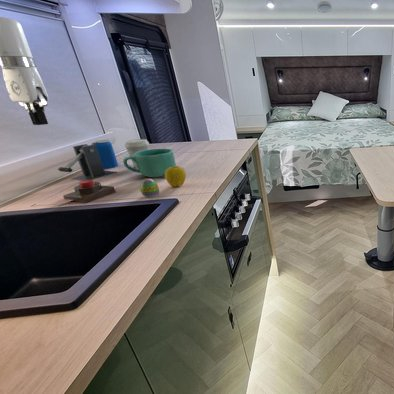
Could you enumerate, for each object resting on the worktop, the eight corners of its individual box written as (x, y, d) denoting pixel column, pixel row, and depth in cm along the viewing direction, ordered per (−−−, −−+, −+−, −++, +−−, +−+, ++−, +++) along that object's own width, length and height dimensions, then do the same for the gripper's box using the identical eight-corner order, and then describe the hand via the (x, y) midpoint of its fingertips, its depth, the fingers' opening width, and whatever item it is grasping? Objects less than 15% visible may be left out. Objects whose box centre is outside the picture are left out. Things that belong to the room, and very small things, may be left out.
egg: (143, 200, 91) (137, 182, 89) (142, 195, 95) (137, 178, 93) (161, 196, 94) (156, 179, 92) (159, 192, 98) (155, 175, 95)
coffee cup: (130, 172, 120) (121, 143, 115) (133, 167, 127) (125, 140, 122) (154, 169, 124) (147, 141, 119) (156, 164, 131) (148, 138, 126)
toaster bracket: (89, 183, 108) (77, 149, 103) (71, 181, 110) (58, 148, 105) (118, 174, 117) (108, 143, 113) (101, 173, 120) (90, 142, 115)
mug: (179, 169, 123) (173, 147, 120) (176, 177, 113) (170, 153, 109) (132, 174, 117) (125, 151, 113) (125, 183, 106) (117, 158, 103)
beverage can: (103, 167, 127) (94, 140, 122) (121, 166, 129) (112, 139, 124) (97, 171, 121) (87, 143, 117) (116, 170, 123) (106, 142, 119)
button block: (84, 204, 89) (79, 191, 88) (65, 201, 91) (60, 189, 89) (116, 192, 98) (112, 181, 97) (98, 190, 100) (94, 179, 98)
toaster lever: (72, 173, 104) (66, 168, 102) (62, 172, 105) (55, 168, 103) (96, 150, 111) (90, 145, 109) (86, 149, 112) (80, 145, 110)
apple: (171, 190, 99) (166, 168, 96) (165, 186, 103) (159, 164, 100) (191, 185, 104) (186, 164, 101) (184, 182, 107) (179, 161, 104)
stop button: (86, 188, 91) (84, 183, 90) (77, 187, 92) (75, 182, 91) (97, 185, 94) (95, 179, 94) (89, 184, 95) (87, 179, 94)
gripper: (-15, 63, 88) (10, 125, 94) (19, 62, 84) (43, 126, 91) (16, 65, 95) (38, 122, 101) (50, 64, 91) (70, 123, 98)
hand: (40, 124), depth 96 cm, fingers closed
